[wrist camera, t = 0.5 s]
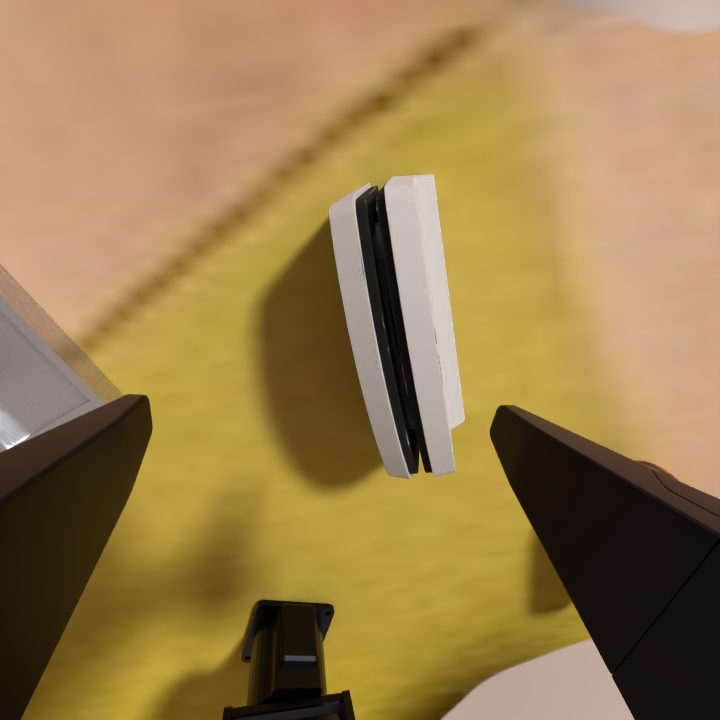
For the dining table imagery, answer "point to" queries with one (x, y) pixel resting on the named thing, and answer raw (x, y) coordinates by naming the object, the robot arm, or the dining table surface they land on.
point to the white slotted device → (400, 320)
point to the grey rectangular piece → (41, 370)
